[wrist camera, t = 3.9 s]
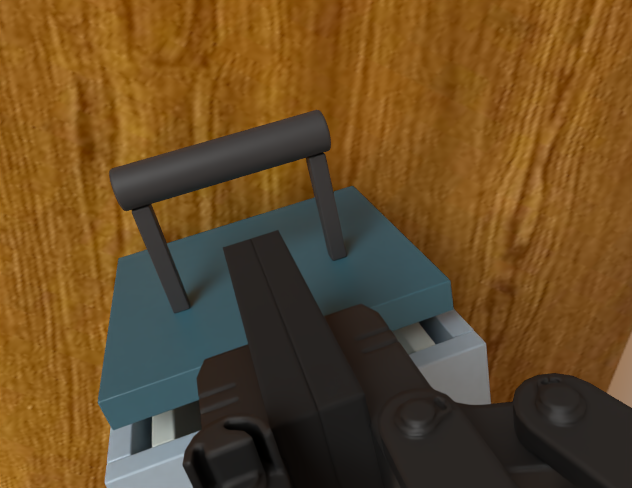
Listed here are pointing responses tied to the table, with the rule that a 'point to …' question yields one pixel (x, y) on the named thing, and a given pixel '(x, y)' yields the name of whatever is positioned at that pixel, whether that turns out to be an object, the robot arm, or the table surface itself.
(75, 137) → the table surface
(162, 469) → the cabinet
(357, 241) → the drawer
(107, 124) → the table surface
